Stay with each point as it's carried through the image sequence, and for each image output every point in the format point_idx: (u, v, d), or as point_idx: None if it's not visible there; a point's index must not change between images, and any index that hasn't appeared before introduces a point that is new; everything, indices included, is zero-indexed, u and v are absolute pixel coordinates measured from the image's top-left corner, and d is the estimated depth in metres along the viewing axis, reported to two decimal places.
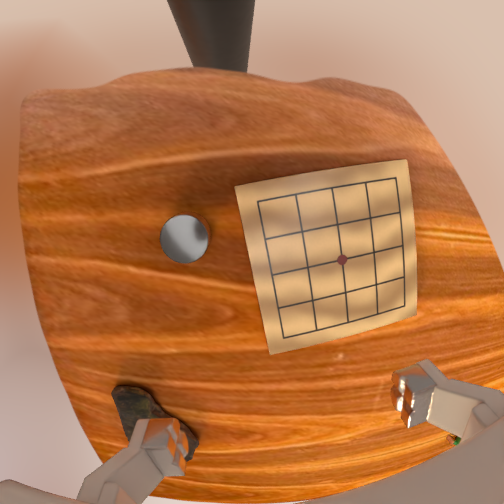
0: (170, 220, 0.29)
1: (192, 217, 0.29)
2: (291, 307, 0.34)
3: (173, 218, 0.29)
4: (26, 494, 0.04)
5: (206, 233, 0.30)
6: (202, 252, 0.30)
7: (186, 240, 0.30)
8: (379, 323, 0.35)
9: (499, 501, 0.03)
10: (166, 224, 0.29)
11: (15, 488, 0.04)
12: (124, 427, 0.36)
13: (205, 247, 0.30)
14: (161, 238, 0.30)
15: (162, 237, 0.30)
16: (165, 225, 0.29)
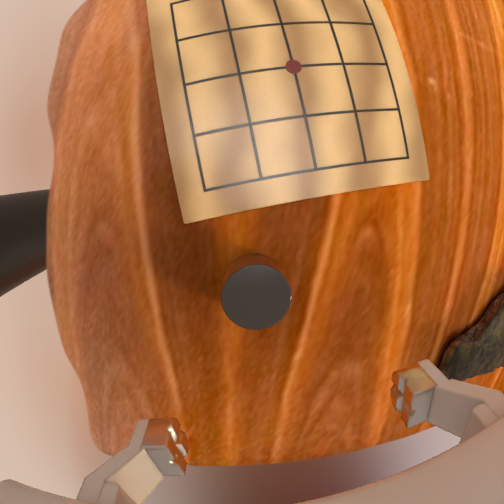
0: (229, 315, 0.21)
1: (225, 286, 0.21)
2: (365, 142, 0.21)
3: (226, 311, 0.21)
4: (26, 494, 0.04)
5: (248, 267, 0.21)
6: (276, 273, 0.21)
7: (258, 294, 0.21)
8: (386, 23, 0.18)
9: (499, 501, 0.03)
10: (235, 320, 0.22)
11: (15, 488, 0.04)
12: (483, 372, 0.26)
13: (269, 269, 0.21)
14: (254, 327, 0.22)
15: (253, 326, 0.22)
16: (236, 322, 0.22)
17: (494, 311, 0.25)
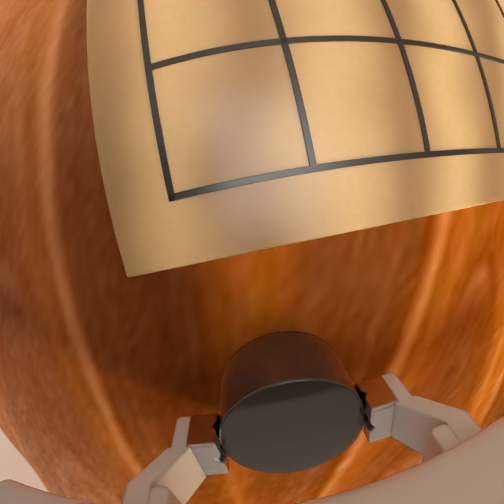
0: (236, 459, 0.09)
1: (227, 418, 0.08)
2: (495, 112, 0.08)
3: (231, 454, 0.09)
4: (26, 494, 0.04)
5: (281, 385, 0.08)
6: (343, 391, 0.08)
7: (299, 429, 0.09)
8: None
9: (499, 501, 0.03)
10: (248, 465, 0.09)
11: (15, 488, 0.04)
12: None
13: (328, 385, 0.08)
14: (285, 471, 0.09)
15: (283, 470, 0.09)
16: (250, 467, 0.09)
17: None
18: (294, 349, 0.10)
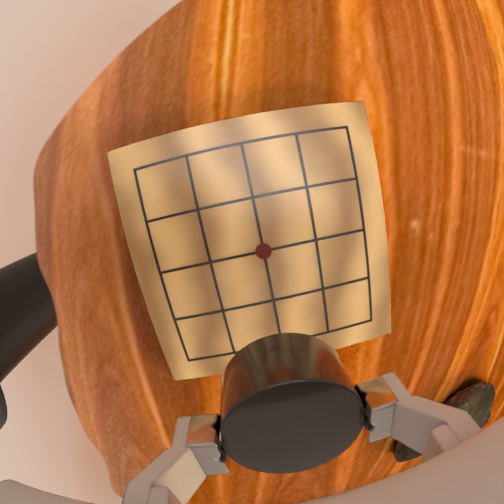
0: (237, 459, 0.09)
1: (227, 419, 0.08)
2: (329, 315, 0.24)
3: (231, 454, 0.09)
4: (26, 494, 0.04)
5: (282, 385, 0.08)
6: (343, 392, 0.08)
7: (300, 429, 0.09)
8: (372, 172, 0.21)
9: (499, 501, 0.03)
10: (248, 465, 0.09)
11: (15, 488, 0.04)
12: None
13: (328, 385, 0.08)
14: (285, 471, 0.09)
15: (283, 470, 0.09)
16: (250, 467, 0.09)
17: None
18: (294, 350, 0.10)
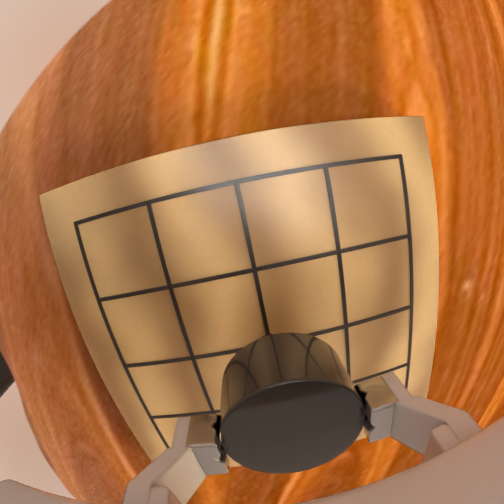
0: (237, 459, 0.09)
1: (227, 418, 0.08)
2: None
3: (231, 454, 0.09)
4: (26, 494, 0.04)
5: (282, 385, 0.08)
6: (343, 391, 0.08)
7: (299, 429, 0.09)
8: (430, 226, 0.14)
9: (499, 501, 0.03)
10: (248, 465, 0.09)
11: (15, 488, 0.04)
12: None
13: (329, 385, 0.08)
14: (285, 471, 0.09)
15: (283, 470, 0.09)
16: (250, 467, 0.09)
17: None
18: (294, 349, 0.10)
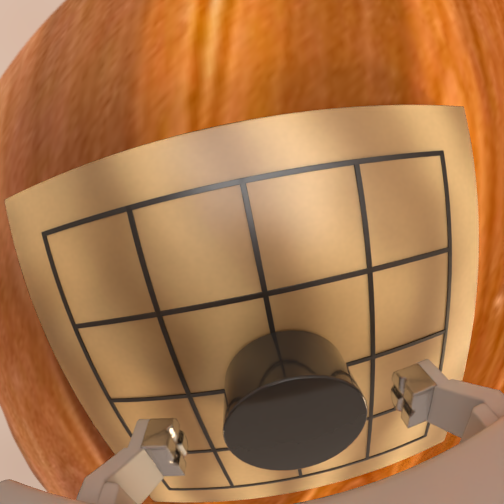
0: (240, 456, 0.09)
1: (231, 415, 0.08)
2: (373, 442, 0.13)
3: (234, 451, 0.09)
4: (26, 494, 0.04)
5: (285, 382, 0.08)
6: (346, 388, 0.08)
7: (302, 426, 0.09)
8: (471, 237, 0.11)
9: (499, 501, 0.03)
10: (251, 462, 0.09)
11: (15, 488, 0.04)
12: None
13: (332, 382, 0.08)
14: (288, 468, 0.09)
15: (286, 467, 0.09)
16: (253, 464, 0.09)
17: None
18: (297, 347, 0.10)
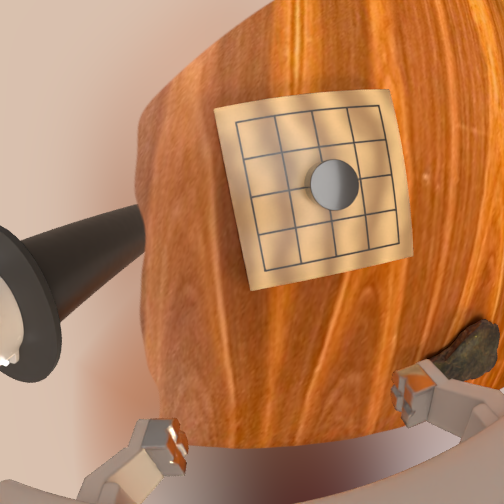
0: (315, 197, 0.28)
1: (313, 173, 0.27)
2: (369, 236, 0.32)
3: (313, 194, 0.28)
4: (26, 494, 0.04)
5: (330, 160, 0.27)
6: (349, 166, 0.27)
7: (336, 182, 0.28)
8: (396, 136, 0.29)
9: (499, 501, 0.03)
10: (319, 202, 0.28)
11: (15, 488, 0.04)
12: None
13: (344, 163, 0.27)
14: (333, 208, 0.28)
15: (332, 207, 0.28)
16: (320, 203, 0.28)
17: (461, 340, 0.36)
18: None
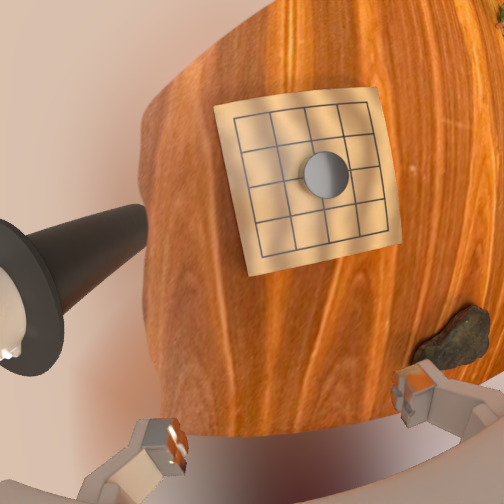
0: (308, 186, 0.30)
1: (306, 164, 0.30)
2: (360, 223, 0.34)
3: (307, 183, 0.30)
4: (26, 494, 0.04)
5: (322, 152, 0.29)
6: (339, 158, 0.30)
7: (328, 172, 0.30)
8: (383, 130, 0.32)
9: (499, 501, 0.03)
10: (312, 190, 0.30)
11: (15, 488, 0.04)
12: (447, 368, 0.40)
13: (335, 154, 0.29)
14: (325, 197, 0.30)
15: (324, 195, 0.30)
16: (313, 192, 0.30)
17: (452, 325, 0.39)
18: None
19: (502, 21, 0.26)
